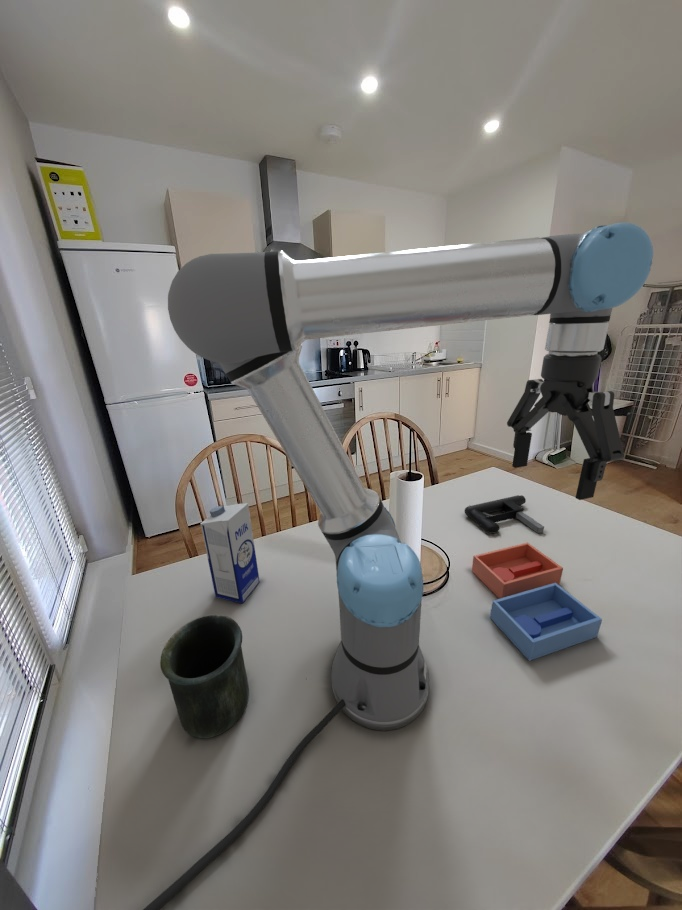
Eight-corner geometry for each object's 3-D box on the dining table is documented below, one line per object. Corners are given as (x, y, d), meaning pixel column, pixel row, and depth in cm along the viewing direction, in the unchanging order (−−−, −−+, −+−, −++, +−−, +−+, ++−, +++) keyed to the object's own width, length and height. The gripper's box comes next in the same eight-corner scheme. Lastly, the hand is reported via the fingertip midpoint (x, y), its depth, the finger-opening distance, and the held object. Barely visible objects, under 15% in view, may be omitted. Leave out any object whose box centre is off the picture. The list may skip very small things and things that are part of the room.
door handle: (562, 519, 94) (516, 491, 108) (500, 535, 88) (460, 503, 102) (559, 530, 95) (514, 500, 109) (498, 546, 89) (459, 513, 103)
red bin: (501, 600, 71) (504, 584, 70) (471, 570, 80) (473, 555, 78) (559, 584, 75) (563, 568, 74) (525, 557, 84) (527, 542, 82)
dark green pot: (172, 757, 48) (152, 694, 43) (183, 664, 61) (169, 609, 56) (255, 729, 50) (244, 668, 46) (248, 646, 64) (239, 592, 59)
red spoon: (531, 562, 81) (532, 556, 80) (546, 574, 77) (547, 568, 76) (487, 574, 78) (487, 568, 77) (501, 587, 74) (501, 581, 73)
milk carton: (242, 604, 73) (227, 519, 66) (214, 597, 75) (197, 514, 68) (260, 581, 79) (248, 502, 72) (234, 575, 81) (220, 498, 74)
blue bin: (529, 661, 59) (532, 642, 57) (489, 617, 67) (492, 600, 66) (597, 637, 63) (602, 619, 61) (551, 598, 71) (555, 582, 70)
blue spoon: (558, 607, 68) (560, 601, 68) (579, 625, 64) (580, 618, 64) (507, 623, 65) (508, 616, 65) (525, 642, 61) (526, 635, 61)
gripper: (685, 358, 44) (640, 510, 51) (529, 347, 66) (514, 453, 74) (640, 362, 42) (600, 520, 49) (495, 349, 64) (483, 458, 72)
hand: (548, 480), depth 61 cm, fingers open, 13 cm apart
